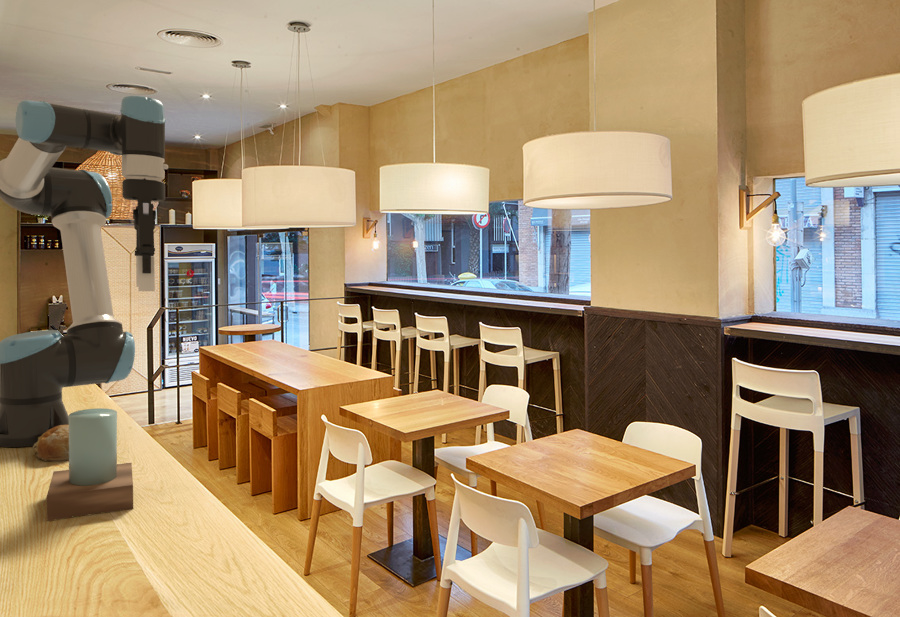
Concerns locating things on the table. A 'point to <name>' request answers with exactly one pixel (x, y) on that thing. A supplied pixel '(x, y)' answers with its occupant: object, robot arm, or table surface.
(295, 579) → the table surface
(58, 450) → the bread roll
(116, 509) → the pedestal
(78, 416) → the dome-topped cylinder
